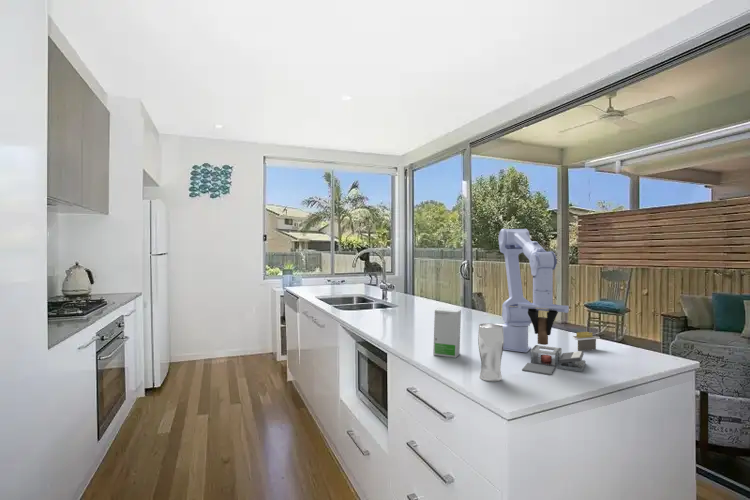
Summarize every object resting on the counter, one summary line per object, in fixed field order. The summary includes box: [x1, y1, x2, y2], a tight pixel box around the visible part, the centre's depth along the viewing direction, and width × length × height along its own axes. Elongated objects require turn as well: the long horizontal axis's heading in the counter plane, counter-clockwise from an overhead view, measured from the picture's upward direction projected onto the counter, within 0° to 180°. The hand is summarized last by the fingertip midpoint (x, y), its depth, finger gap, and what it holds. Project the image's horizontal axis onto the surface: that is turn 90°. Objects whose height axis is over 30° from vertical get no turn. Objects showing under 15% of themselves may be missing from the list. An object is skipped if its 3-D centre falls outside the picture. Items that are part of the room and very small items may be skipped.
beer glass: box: [477, 322, 504, 383], centre depth 114 cm, size 7×7×15 cm
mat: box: [521, 362, 556, 376], centre depth 122 cm, size 8×8×1 cm
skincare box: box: [433, 307, 462, 359], centre depth 139 cm, size 8×7×16 cm
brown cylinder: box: [537, 316, 549, 346], centre depth 126 cm, size 3×3×8 cm
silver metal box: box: [530, 344, 586, 373], centre depth 128 cm, size 15×10×4 cm, turn 58°
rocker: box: [559, 350, 584, 363], centre depth 126 cm, size 6×9×1 cm, turn 148°
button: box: [540, 354, 553, 362], centre depth 131 cm, size 3×3×2 cm
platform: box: [572, 331, 601, 352], centre depth 146 cm, size 12×18×7 cm, turn 107°
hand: (542, 333), depth 126 cm, fingers closed on brown cylinder, 3 cm apart
